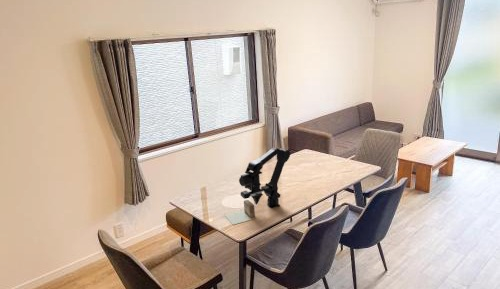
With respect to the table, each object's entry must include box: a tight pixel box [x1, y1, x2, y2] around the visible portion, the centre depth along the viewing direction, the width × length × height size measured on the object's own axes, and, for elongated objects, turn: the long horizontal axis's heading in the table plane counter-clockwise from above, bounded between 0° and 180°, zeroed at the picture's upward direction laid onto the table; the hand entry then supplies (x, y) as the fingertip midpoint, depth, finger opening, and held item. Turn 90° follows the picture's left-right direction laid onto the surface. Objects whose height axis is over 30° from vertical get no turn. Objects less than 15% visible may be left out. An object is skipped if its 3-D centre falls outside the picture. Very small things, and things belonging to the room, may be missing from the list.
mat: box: [224, 210, 252, 226], centre depth 227 cm, size 12×14×1 cm
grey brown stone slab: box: [243, 199, 256, 219], centre depth 229 cm, size 3×9×8 cm, turn 26°
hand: (256, 204), depth 231 cm, fingers closed
